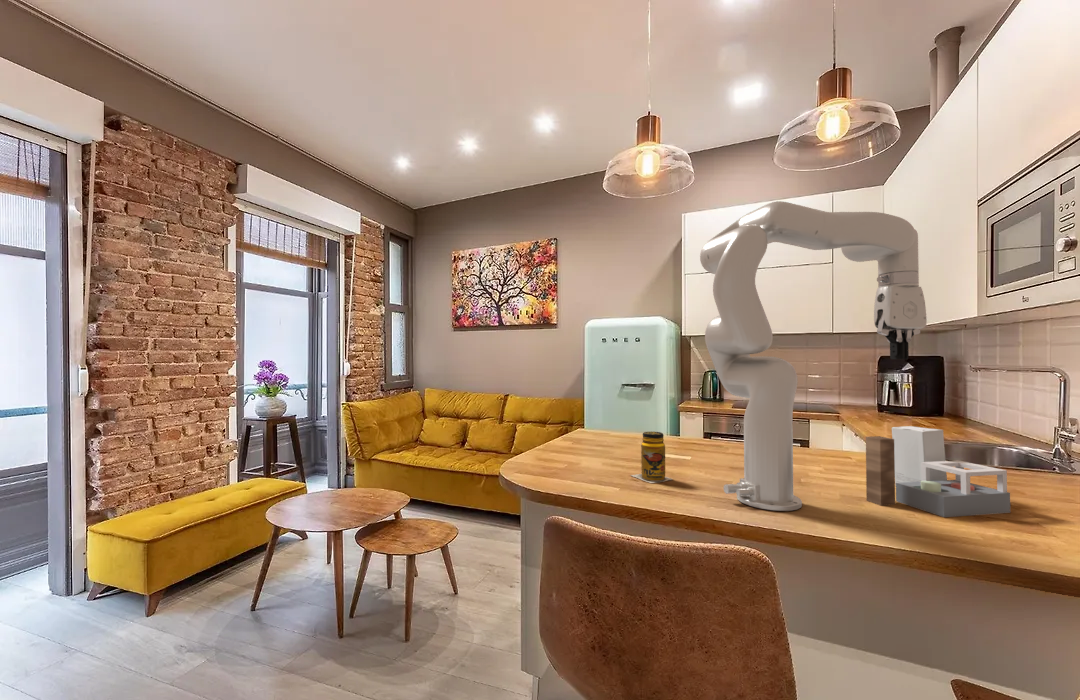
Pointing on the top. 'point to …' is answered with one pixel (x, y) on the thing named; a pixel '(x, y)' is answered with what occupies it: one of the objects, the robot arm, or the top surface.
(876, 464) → the wooden block
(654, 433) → the condiment
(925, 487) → the on button
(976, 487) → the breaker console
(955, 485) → the plunger
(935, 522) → the top surface
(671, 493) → the top surface
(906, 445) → the skincare box
